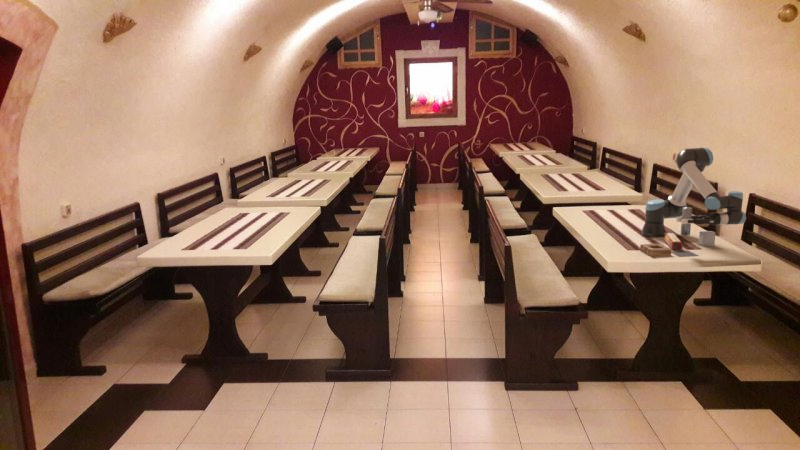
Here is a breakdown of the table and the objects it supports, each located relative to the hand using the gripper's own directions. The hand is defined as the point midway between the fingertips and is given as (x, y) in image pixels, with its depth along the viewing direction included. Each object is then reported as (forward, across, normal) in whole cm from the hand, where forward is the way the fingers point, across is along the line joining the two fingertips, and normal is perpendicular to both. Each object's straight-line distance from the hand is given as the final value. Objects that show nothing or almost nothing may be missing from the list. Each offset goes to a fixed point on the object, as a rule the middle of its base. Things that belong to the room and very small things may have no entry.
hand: (679, 220), depth 339 cm
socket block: (+11, +5, -21) cm, 24 cm away
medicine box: (-28, +17, -21) cm, 39 cm away
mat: (-4, 0, -21) cm, 21 cm away
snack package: (-7, +18, -21) cm, 29 cm away
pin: (-4, 0, -9) cm, 10 cm away
